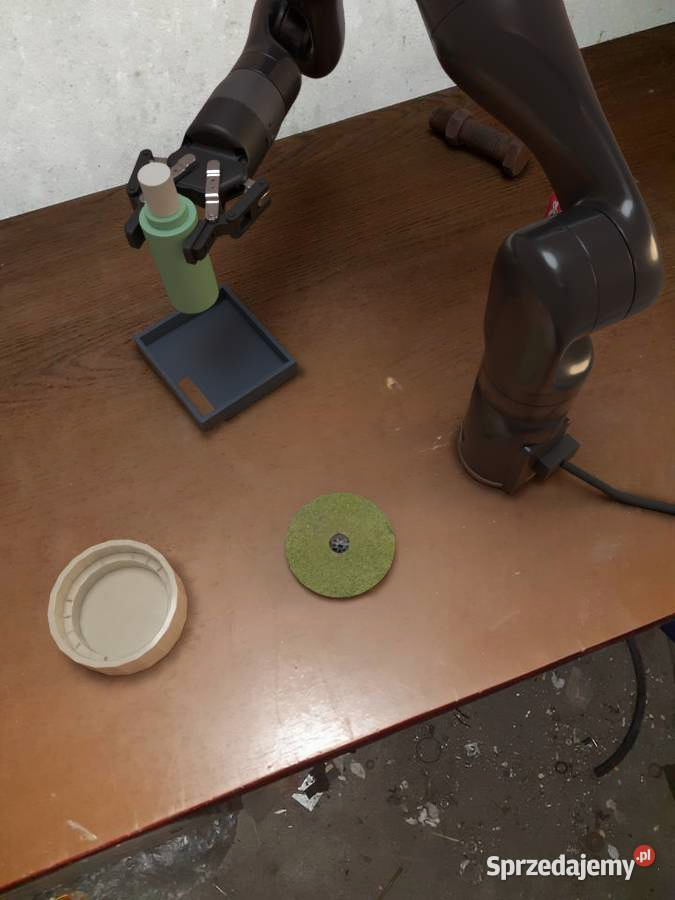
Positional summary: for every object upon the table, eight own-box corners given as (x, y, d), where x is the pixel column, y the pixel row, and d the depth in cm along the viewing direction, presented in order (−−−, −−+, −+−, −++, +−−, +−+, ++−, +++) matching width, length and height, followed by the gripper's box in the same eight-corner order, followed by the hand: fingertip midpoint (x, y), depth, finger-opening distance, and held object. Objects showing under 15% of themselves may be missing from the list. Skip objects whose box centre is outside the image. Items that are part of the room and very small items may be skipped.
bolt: (434, 135, 103) (521, 176, 98) (418, 136, 99) (507, 179, 94) (449, 94, 99) (539, 134, 94) (432, 93, 96) (525, 135, 91)
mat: (392, 498, 75) (393, 491, 73) (396, 601, 70) (397, 596, 68) (288, 500, 75) (286, 492, 73) (285, 602, 70) (283, 597, 68)
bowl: (211, 623, 69) (201, 611, 65) (105, 703, 66) (86, 696, 62) (149, 533, 74) (135, 516, 69) (46, 603, 71) (25, 590, 66)
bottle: (212, 316, 71) (176, 198, 57) (163, 311, 71) (115, 193, 57) (223, 276, 73) (190, 154, 59) (175, 272, 74) (132, 150, 60)
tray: (298, 373, 82) (296, 361, 80) (205, 434, 79) (201, 423, 77) (227, 295, 88) (223, 282, 86) (138, 349, 85) (132, 337, 82)
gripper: (163, 80, 68) (76, 199, 61) (298, 111, 65) (223, 239, 58) (181, 144, 75) (104, 259, 68) (304, 175, 72) (237, 297, 65)
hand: (160, 249), depth 63 cm, fingers closed on bottle, 5 cm apart
